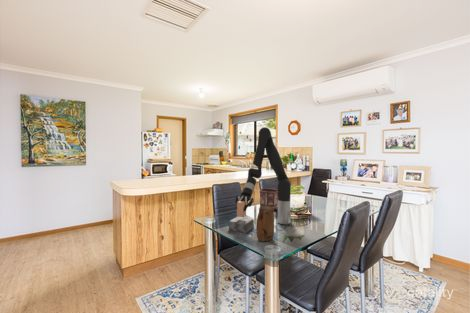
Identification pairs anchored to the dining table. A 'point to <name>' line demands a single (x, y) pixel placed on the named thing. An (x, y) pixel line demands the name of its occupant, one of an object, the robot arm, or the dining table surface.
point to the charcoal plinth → (241, 224)
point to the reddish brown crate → (269, 198)
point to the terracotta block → (241, 209)
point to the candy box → (308, 202)
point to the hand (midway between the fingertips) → (240, 209)
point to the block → (265, 223)
